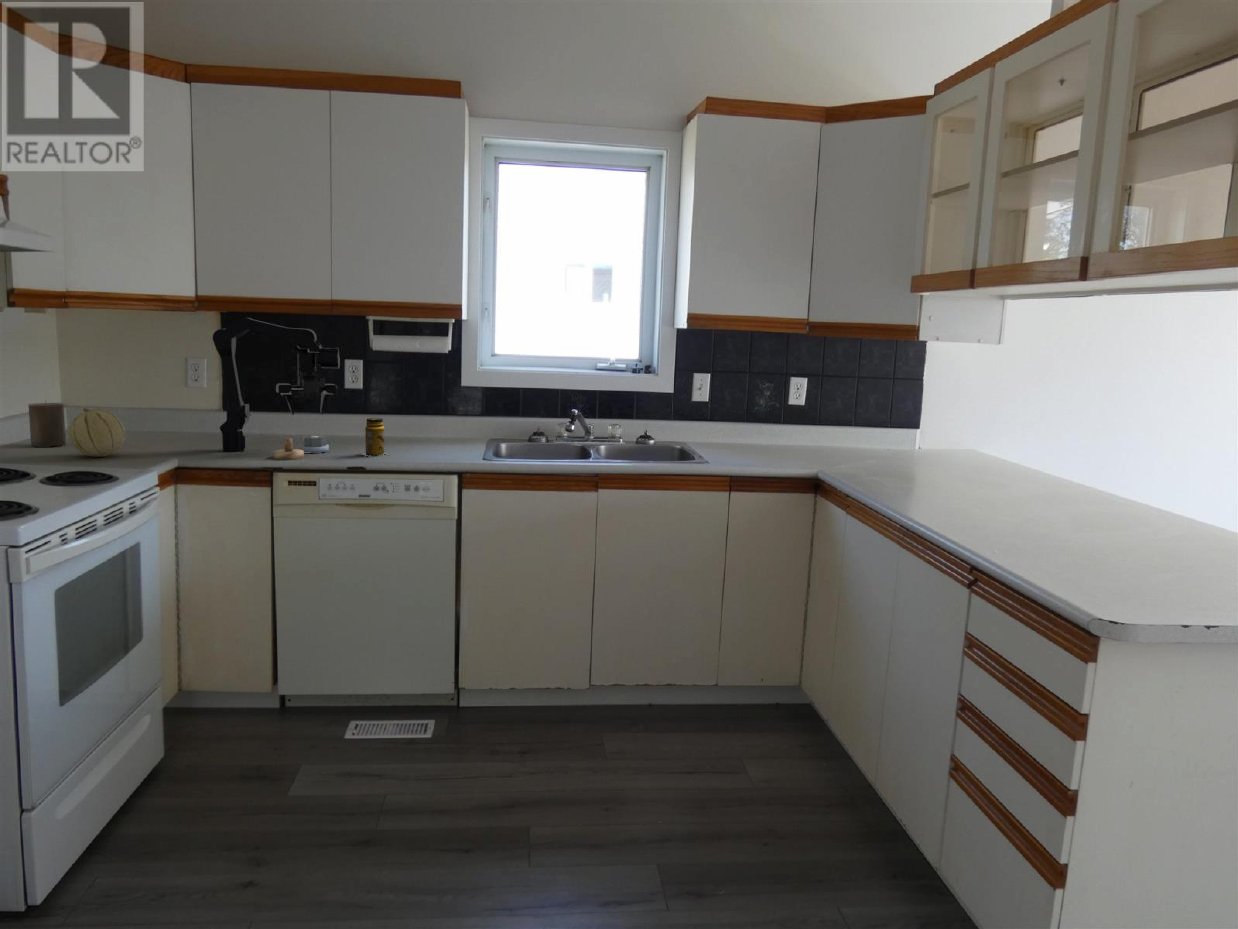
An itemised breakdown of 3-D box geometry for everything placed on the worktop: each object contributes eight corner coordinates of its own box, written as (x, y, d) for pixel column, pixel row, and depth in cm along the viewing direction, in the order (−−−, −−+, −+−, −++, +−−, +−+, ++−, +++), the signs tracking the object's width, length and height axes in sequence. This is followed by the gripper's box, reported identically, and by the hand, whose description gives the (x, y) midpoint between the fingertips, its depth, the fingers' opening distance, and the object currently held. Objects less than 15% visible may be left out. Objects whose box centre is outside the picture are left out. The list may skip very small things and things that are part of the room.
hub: (303, 454, 287) (303, 438, 287) (297, 450, 295) (297, 435, 294) (331, 452, 292) (331, 437, 291) (325, 448, 300) (325, 434, 299)
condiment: (389, 455, 292) (389, 419, 290) (366, 457, 286) (365, 420, 284) (378, 452, 297) (378, 416, 295) (355, 454, 291) (354, 418, 289)
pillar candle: (64, 447, 285) (61, 400, 283) (28, 447, 281) (25, 401, 279) (67, 443, 294) (65, 398, 291) (33, 444, 289) (30, 398, 287)
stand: (276, 460, 274) (275, 441, 273) (271, 456, 282) (270, 437, 281) (306, 458, 278) (306, 440, 277) (300, 454, 286) (300, 436, 285)
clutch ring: (305, 447, 288) (305, 438, 288) (301, 444, 294) (301, 435, 294) (327, 446, 292) (327, 437, 291) (322, 443, 298) (322, 434, 297)
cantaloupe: (133, 457, 270) (130, 409, 267) (78, 462, 260) (75, 411, 257) (117, 451, 280) (115, 404, 278) (64, 455, 270) (61, 406, 267)
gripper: (281, 368, 279) (281, 417, 281) (341, 369, 288) (341, 416, 291) (275, 366, 288) (276, 413, 291) (333, 367, 298) (334, 413, 300)
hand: (307, 414), depth 293 cm, fingers open, 9 cm apart
